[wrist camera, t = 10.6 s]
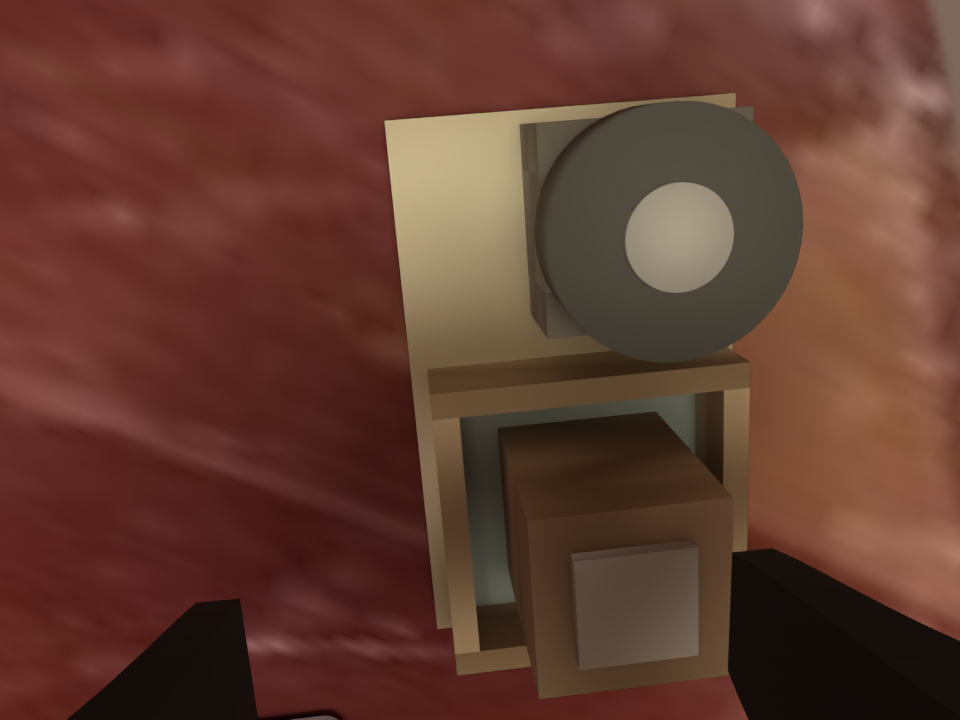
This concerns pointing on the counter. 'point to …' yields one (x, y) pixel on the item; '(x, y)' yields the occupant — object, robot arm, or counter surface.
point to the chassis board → (518, 352)
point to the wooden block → (616, 554)
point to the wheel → (669, 229)
